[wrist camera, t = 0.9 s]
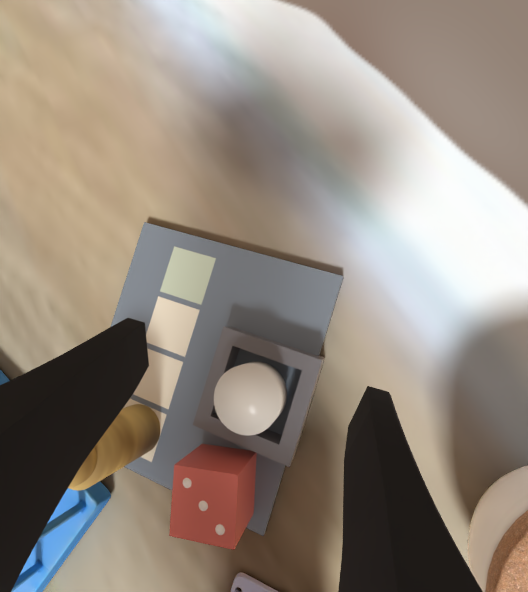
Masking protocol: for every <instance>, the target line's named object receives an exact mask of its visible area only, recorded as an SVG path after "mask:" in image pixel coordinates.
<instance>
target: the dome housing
mask: <svg viewBox="0 0 528 592" xmlns="http://www.w3.org/2000/svg"><path fill="white" fill-rule="evenodd" d="M239 349H243V350H246V351H249V352H251V353H254V354H257V355H260V356H263V357H266V358H268V359H271V360H274V361H277V362H280V363H283V364H285V365H288V366H291V367H294V368H297V369H299V370H302V372H301V375H300V379H299V382H298V385H297V388H296V392H295V395H294V398H293V401H292V405H291V408H290V411H289V414H288V418H287V421H286V424H285V427H284V431H283V434H282V435H280V434H277V433H275V432H273V431H270V430H268V429H266V430H265V431H263V432H261V433H259V434H256V435H249V436H248V435H240V434H237V433H235V432H233V431H231V430H229V429H228V428H227V427H226V426H225V425H224V424H223V423H222V422H221V420H220V419H219V417H218V415H217V413H216V410H215V406H214V391H215V387H216V385H217V383H218V381H219V379H220V378H221V376H222V375H223V374H224V373H225V372H227V371H228V370H229V369H231V368H233V367H234V365H235V362H236V359H237V355H238V352H239ZM324 359H325V357H322V356H317V355H314V354H311V353H308V352H305V351H302V350H299V349H296V348H293V347H290V346H287V345H284V344H281V343H278V342H276V341H273V340H270V339H267V338H264V337H261V336H258V335H255V334H252V333H249V332H246V331H243V330H240V329H237V328H234V327H223V329H222V333H221V336H220V339H219V342H218V345H217V349H216V352H215V355H214V358H213V361H212V364H211V368H210V371H209V374H208V377H207V380H206V384H205V387H204V390H203V393H202V396H201V400H200V403H199V406H198V409H197V412H196V415H195V419H194V422H193V425H194V426H196V427H198V428H201V429H203V430H205V431H207V432H210V433H212V434H214V435H217V436H219V437H221V438H224V439H226V440H228V441H230V442H233V443H235V444H237V445H240V446H242V447H244V448H247V449H249V450H251V451H253V452H256V453H258V454H260V455H263V456H265V457H267V458H270V459H272V460H274V461H276V462H279V463H281V464H283V465H286V466H288V467H290V465H291V463H292V461H293V458H294V456H295V454H296V451H297V448H298V444H299V441H300V438H301V434H302V431H303V428H304V425H305V421H306V418H307V415H308V412H309V408H310V405H311V402H312V399H313V395H314V392H315V389H316V385H317V382H318V379H319V376H320V372H321V369H322V366H323V363H324Z"/></svg>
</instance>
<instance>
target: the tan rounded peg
mask: <svg viewBox="0 0 528 592" xmlns="http://www.w3.org/2000/svg"><path fill="white" fill-rule="evenodd" d="M159 437H160V423H159V419H158V417H157V415H156V414H155V412H154V411H153V410H152V409H151V408H149V407H148V406H146V405H142V404H135V405H131V406H128V407H125V408H123V409H122V410H121V412H120V413H119V414H118V416H117V417H116V418H115V420H114V421H113V422H112V424H111V425H110V426H109V428H108V429H107V431H106V432H105V433H104V435H103V436H102V437H101V439H100V440H99V441H98V443H97V444H96V445H95V447H94V448H93V450H92V451H91V452H90V454H89V455H88V457H87V458H86V460H85V461H84V463H83V464H82V466H81V467H80V469H79V470H78V472H77V474H76V475H75V477H74V479H73V480H72V482H71V484H70V485H69V487H68V488H69V489H72V490H85V489H87V488H89V487H91V486H92V485H94V484H96V483H97V482H99V481H101V480H102V479H104V478H106V477H107V476H109V475H111V474H112V473H114V472H116V471H117V470H119V469H121V468H122V467H124V466H126V465H127V464H129V463H131V462H132V461H134V460H136V459H137V458H139V457H141V456H142V455H144V454H146V453H147V452H149V451H151V450H152V449H153V448H154V447H155V446H156V444H157V442H158V440H159Z"/></svg>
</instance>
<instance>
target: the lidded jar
mask: <svg viewBox="0 0 528 592" xmlns="http://www.w3.org/2000/svg"><path fill="white" fill-rule="evenodd" d="M468 559H469V567H470V571H471V572H472V574H473V576H474V577H475V579H476V581H477V583H478V584H479V586H480V588H481V589H482V591H483V592H528V466H524V467H521V468H519V469H516V470H513V471H511V472H509V473H508V474H506V475H504V476H502V477H501V478H499V479H498V480H497V481H496V482H495V483H493V484H492V485H491V486H490V487H489V488H488V489H487V491H486V492H485V493H484V494H483V496H482V497H481V499H480V500H479V502H478V504H477V506H476V508H475V510H474V514H473V517H472V520H471V523H470V528H469V536H468Z"/></svg>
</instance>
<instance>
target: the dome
mask: <svg viewBox="0 0 528 592" xmlns="http://www.w3.org/2000/svg"><path fill="white" fill-rule="evenodd" d="M286 400H287V388H286V384H285V381H284V379H283V377H282V376H281V374H280V373H279V372H278V371H277V370H276V369H275V368H274V367H272V366H271V365H269V364H267V363H263V362H249V363H245V364H242V365H239V366H236V367H233V368H231V369H229V370H228V371H227V372H225V373H224V374H223V375H222V376H221V378H220V379H219V381H218V383H217V385H216V387H215V391H214V406H215V410H216V413H217V415H218V417H219V419H220V420H221V422H222V423H223V424H224V425H225V426H226V427H227V428H228V429H229V430H231V431H233V432H235V433H237V434H240V435H248V436H249V435H256V434H259V433H261V432H263V431H265V430H266V429H267V428H269V427H270V426H271V425H272V423H273V422H274V421H275V420H276V419H277V417H278V416H279V415H280V414H281V412H282V411H283V409H284V407H285V404H286Z"/></svg>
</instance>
